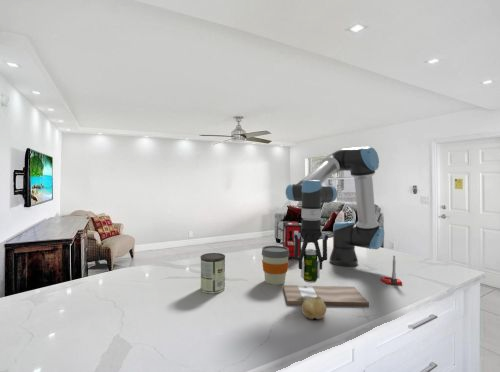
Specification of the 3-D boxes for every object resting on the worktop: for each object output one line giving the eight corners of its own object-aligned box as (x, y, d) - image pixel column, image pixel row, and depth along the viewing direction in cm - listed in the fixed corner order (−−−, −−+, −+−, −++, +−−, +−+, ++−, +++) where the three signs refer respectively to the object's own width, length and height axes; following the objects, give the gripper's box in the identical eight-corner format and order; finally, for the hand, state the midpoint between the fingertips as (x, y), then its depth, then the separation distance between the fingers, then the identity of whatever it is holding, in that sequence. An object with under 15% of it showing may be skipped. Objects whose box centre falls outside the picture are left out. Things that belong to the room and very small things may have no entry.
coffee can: (207, 283, 129) (207, 251, 128) (228, 286, 125) (229, 254, 125) (195, 291, 119) (195, 257, 119) (218, 295, 116) (218, 260, 115)
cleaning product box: (282, 252, 187) (283, 221, 186) (296, 252, 186) (297, 221, 186) (285, 259, 170) (286, 225, 170) (300, 259, 170) (301, 225, 170)
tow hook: (378, 278, 140) (384, 284, 130) (378, 251, 140) (384, 255, 131) (397, 279, 138) (404, 285, 129) (397, 252, 139) (404, 256, 130)
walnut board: (283, 288, 123) (283, 284, 123) (354, 290, 123) (354, 286, 123) (287, 304, 108) (287, 300, 107) (368, 306, 107) (369, 301, 107)
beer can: (307, 277, 119) (307, 248, 119) (319, 280, 115) (319, 250, 115) (300, 280, 115) (301, 250, 115) (313, 284, 111) (313, 253, 111)
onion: (321, 325, 93) (321, 303, 93) (298, 318, 97) (298, 297, 97) (328, 315, 100) (329, 294, 99) (306, 309, 104) (307, 290, 104)
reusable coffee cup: (292, 279, 136) (292, 247, 135) (283, 288, 124) (284, 253, 124) (267, 275, 141) (267, 244, 141) (256, 283, 130) (257, 249, 129)
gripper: (288, 220, 111) (288, 280, 112) (337, 220, 111) (335, 281, 111) (286, 217, 119) (285, 273, 119) (331, 218, 118) (330, 274, 119)
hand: (310, 277), depth 115 cm, fingers closed on beer can, 5 cm apart
